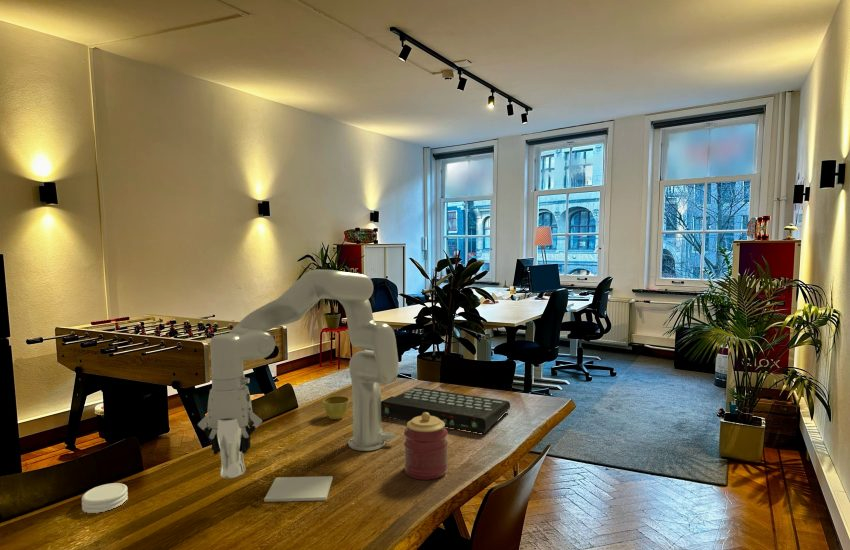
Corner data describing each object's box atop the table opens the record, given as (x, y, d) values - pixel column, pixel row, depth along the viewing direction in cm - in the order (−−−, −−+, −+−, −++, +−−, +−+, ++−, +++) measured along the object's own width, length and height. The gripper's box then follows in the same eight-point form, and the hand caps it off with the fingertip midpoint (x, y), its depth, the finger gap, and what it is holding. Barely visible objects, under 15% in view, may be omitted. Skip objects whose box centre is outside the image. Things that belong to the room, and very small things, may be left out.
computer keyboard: (510, 414, 198) (510, 397, 197) (485, 437, 173) (485, 418, 173) (413, 398, 219) (412, 383, 218) (378, 417, 194) (378, 400, 194)
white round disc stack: (77, 518, 120) (76, 504, 120) (87, 499, 130) (86, 486, 129) (124, 509, 124) (124, 496, 124) (130, 492, 134) (130, 479, 133)
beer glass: (237, 480, 122) (234, 421, 120) (212, 478, 123) (209, 420, 122) (252, 467, 128) (250, 411, 127) (228, 465, 130) (226, 410, 129)
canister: (452, 479, 140) (452, 418, 139) (407, 482, 138) (406, 421, 137) (442, 460, 153) (442, 404, 152) (401, 463, 151) (401, 406, 150)
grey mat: (332, 478, 140) (332, 476, 140) (326, 500, 128) (326, 497, 128) (276, 480, 140) (276, 477, 140) (264, 501, 128) (264, 498, 128)
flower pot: (353, 418, 191) (353, 400, 190) (329, 424, 185) (329, 405, 185) (342, 411, 199) (342, 394, 199) (319, 416, 193) (319, 398, 193)
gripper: (267, 377, 128) (269, 444, 129) (199, 379, 127) (203, 446, 129) (258, 386, 121) (261, 457, 122) (186, 388, 120) (190, 459, 121)
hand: (231, 451), depth 125 cm, fingers closed on beer glass, 6 cm apart
